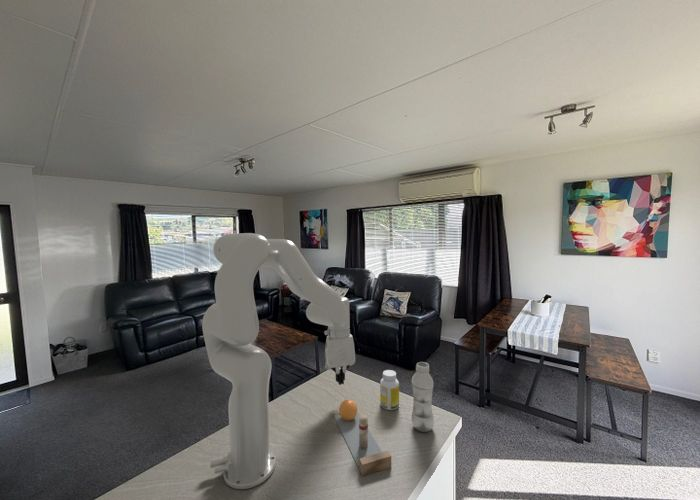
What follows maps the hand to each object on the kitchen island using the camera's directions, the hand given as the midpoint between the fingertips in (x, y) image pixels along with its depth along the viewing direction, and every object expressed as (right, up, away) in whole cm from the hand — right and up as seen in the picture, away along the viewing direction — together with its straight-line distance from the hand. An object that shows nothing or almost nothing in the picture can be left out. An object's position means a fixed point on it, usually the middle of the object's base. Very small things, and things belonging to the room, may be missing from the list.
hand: (340, 382), depth 101 cm
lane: (+6, -8, -17) cm, 19 cm away
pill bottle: (+17, -7, -2) cm, 19 cm away
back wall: (+10, -9, -29) cm, 32 cm away
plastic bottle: (+26, -8, -14) cm, 30 cm away
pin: (+7, -8, -21) cm, 24 cm away
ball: (+3, -5, -9) cm, 11 cm away
